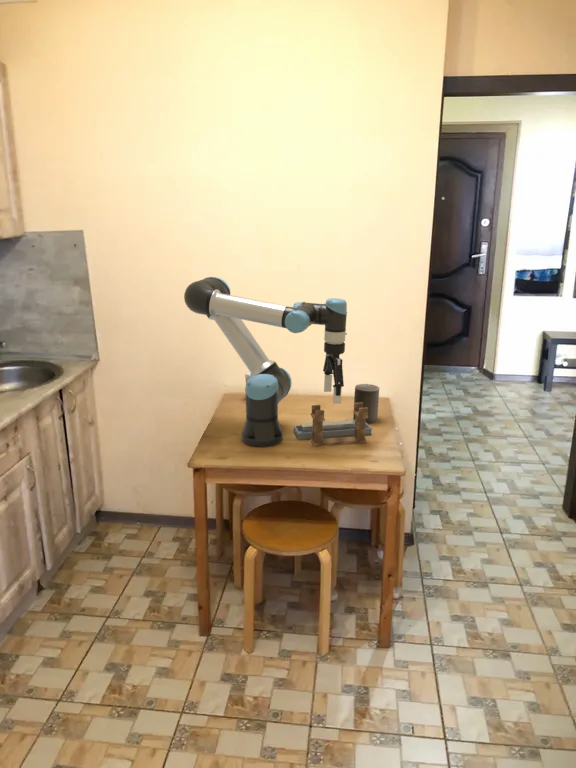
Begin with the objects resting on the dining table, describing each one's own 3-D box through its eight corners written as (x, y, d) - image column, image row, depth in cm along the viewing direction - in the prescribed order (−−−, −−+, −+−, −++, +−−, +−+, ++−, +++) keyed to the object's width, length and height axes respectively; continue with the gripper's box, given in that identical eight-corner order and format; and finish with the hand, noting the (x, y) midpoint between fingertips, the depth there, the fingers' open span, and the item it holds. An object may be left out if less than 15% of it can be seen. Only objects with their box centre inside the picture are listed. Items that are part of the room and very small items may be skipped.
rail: (302, 435, 229) (302, 426, 228) (300, 432, 232) (300, 423, 231) (364, 431, 233) (364, 422, 232) (361, 428, 237) (361, 419, 236)
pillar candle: (355, 423, 242) (356, 387, 238) (351, 415, 252) (353, 380, 247) (379, 424, 243) (381, 388, 238) (375, 415, 252) (377, 380, 247)
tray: (298, 439, 227) (298, 433, 226) (293, 431, 234) (293, 425, 233) (371, 434, 232) (371, 428, 231) (364, 426, 239) (364, 420, 238)
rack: (313, 447, 220) (314, 411, 215) (309, 440, 226) (310, 405, 222) (367, 443, 223) (369, 408, 219) (362, 437, 229) (363, 402, 225)
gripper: (354, 350, 211) (351, 408, 218) (335, 333, 235) (333, 386, 241) (333, 350, 210) (330, 409, 216) (316, 334, 233) (314, 387, 240)
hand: (332, 397), depth 229 cm, fingers open, 13 cm apart
